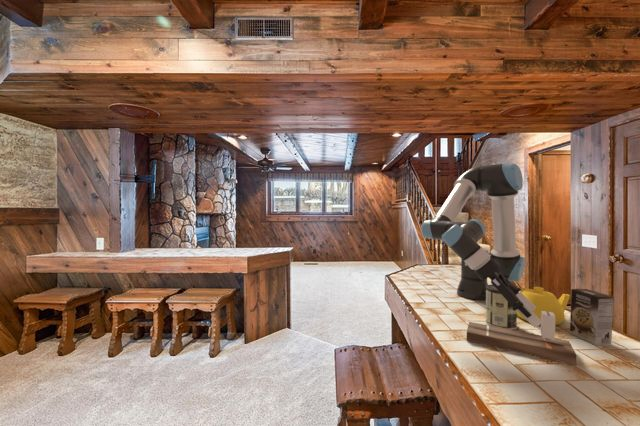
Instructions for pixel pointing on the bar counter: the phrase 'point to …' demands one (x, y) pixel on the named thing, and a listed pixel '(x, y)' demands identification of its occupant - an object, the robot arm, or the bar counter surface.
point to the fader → (548, 325)
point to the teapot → (546, 303)
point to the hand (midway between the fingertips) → (535, 317)
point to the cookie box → (591, 316)
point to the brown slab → (521, 342)
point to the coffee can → (499, 310)
